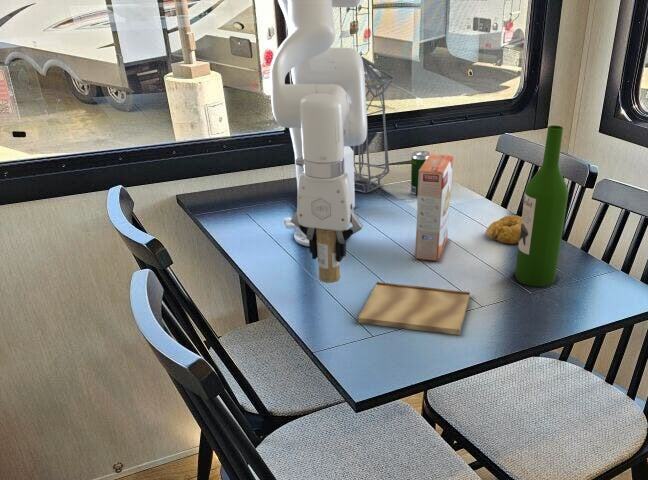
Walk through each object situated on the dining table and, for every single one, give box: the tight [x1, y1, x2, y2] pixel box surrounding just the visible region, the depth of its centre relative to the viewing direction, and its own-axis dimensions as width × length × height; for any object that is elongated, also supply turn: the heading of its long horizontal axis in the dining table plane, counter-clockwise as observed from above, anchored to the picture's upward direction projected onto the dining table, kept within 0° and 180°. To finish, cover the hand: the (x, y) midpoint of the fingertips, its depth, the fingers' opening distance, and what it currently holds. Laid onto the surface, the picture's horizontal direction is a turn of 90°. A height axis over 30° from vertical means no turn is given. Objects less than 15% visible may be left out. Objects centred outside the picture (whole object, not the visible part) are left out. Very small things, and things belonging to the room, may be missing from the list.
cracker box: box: [414, 153, 454, 262], centre depth 158 cm, size 14×6×21 cm, turn 168°
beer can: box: [410, 150, 431, 199], centre depth 192 cm, size 5×5×12 cm
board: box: [357, 281, 471, 336], centre depth 138 cm, size 20×16×2 cm
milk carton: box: [344, 146, 356, 209], centre depth 180 cm, size 7×7×19 cm
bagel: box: [485, 214, 522, 245], centre depth 170 cm, size 10×11×5 cm
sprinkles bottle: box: [316, 228, 341, 284], centre depth 136 cm, size 5×5×14 cm
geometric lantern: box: [352, 56, 397, 194], centre depth 191 cm, size 16×16×35 cm
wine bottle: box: [514, 125, 569, 288], centre depth 143 cm, size 9×9×32 cm
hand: (328, 256), depth 137 cm, fingers closed on sprinkles bottle, 4 cm apart
